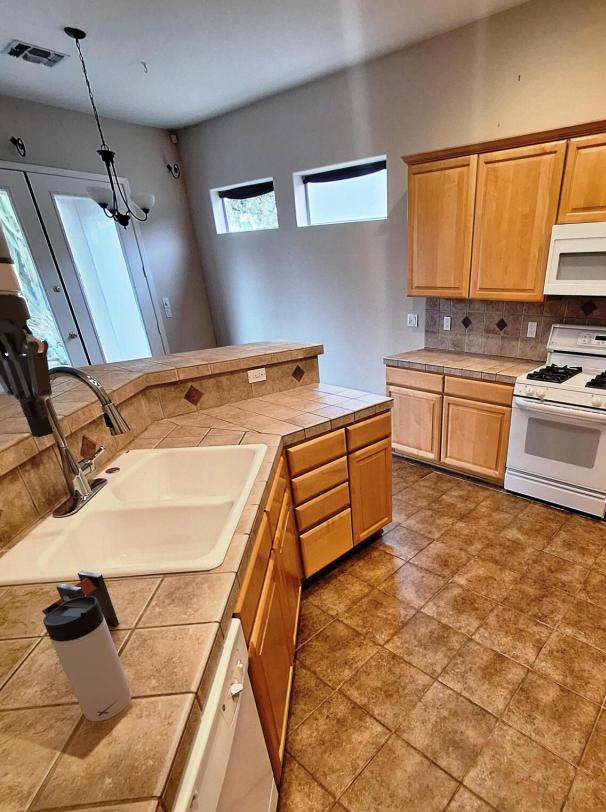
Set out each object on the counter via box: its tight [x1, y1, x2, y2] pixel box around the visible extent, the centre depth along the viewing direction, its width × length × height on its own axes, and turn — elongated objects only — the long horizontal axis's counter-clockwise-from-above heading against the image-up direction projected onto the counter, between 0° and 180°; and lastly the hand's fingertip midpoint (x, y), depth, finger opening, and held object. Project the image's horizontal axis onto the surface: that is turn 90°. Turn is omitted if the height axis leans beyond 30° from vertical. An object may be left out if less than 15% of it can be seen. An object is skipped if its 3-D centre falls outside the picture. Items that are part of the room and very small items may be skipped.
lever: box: [41, 578, 96, 616], centre depth 77 cm, size 11×5×2 cm
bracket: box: [55, 570, 120, 628], centre depth 77 cm, size 12×9×13 cm
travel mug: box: [42, 596, 133, 722], centre depth 62 cm, size 6×7×20 cm
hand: (43, 434), depth 79 cm, fingers closed
